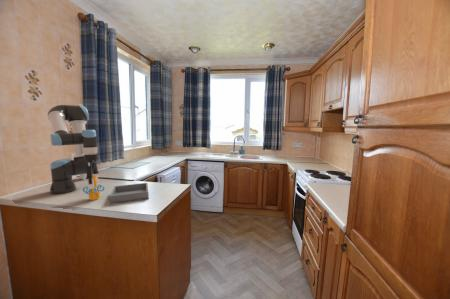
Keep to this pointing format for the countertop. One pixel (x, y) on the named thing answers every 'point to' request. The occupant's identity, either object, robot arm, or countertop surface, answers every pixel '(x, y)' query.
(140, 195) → the bin
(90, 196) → the orange toy
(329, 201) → the countertop surface
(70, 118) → the robot arm
